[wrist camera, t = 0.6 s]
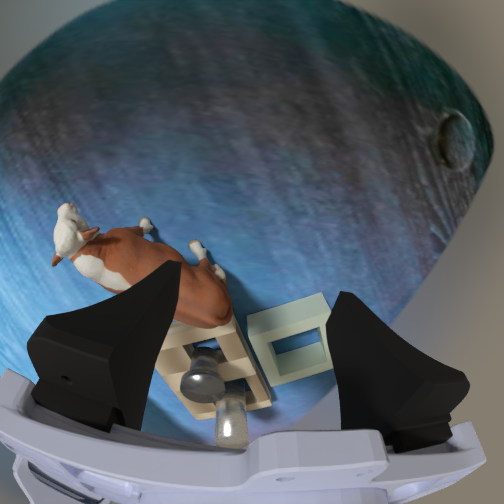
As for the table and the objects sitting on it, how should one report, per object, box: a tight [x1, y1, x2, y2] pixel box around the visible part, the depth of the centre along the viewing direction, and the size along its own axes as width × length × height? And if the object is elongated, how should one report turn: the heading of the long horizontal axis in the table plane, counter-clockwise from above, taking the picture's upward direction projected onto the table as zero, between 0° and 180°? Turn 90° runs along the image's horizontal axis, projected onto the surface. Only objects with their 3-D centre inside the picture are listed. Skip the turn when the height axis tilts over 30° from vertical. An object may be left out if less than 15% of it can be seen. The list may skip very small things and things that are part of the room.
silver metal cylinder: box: [215, 378, 248, 449], centre depth 26 cm, size 3×3×8 cm
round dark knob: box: [180, 347, 225, 404], centre depth 23 cm, size 4×4×4 cm
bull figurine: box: [52, 203, 233, 329], centre depth 19 cm, size 4×13×8 cm, turn 55°
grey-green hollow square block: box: [247, 292, 333, 387], centre depth 26 cm, size 7×7×3 cm
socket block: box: [155, 313, 272, 420], centre depth 27 cm, size 9×13×2 cm
